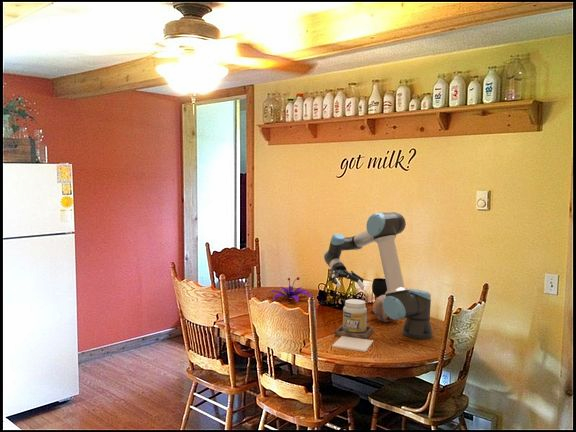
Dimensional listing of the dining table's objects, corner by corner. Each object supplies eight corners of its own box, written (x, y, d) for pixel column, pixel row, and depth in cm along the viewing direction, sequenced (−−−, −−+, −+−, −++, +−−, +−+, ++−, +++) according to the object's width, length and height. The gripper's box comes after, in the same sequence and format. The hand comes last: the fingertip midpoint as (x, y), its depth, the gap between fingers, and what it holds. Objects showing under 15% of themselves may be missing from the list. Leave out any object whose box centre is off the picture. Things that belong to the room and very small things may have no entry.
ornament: (397, 326, 282) (398, 299, 281) (370, 323, 287) (371, 296, 286) (401, 319, 296) (402, 293, 295) (374, 316, 301) (375, 291, 300)
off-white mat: (373, 342, 254) (373, 340, 254) (365, 351, 239) (365, 350, 239) (341, 337, 260) (341, 336, 260) (332, 347, 245) (332, 345, 245)
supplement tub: (340, 336, 262) (341, 303, 261) (344, 329, 274) (345, 297, 273) (364, 338, 259) (365, 305, 258) (367, 331, 271) (368, 299, 270)
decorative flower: (305, 307, 319) (306, 283, 318) (259, 301, 330) (260, 278, 329) (319, 297, 345) (320, 275, 344) (276, 292, 356) (276, 271, 355)
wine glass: (367, 312, 310) (368, 279, 309) (378, 309, 317) (379, 277, 316) (381, 315, 302) (382, 282, 301) (392, 313, 309) (393, 280, 308)
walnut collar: (373, 331, 271) (373, 326, 271) (365, 340, 256) (365, 335, 256) (343, 327, 277) (343, 323, 277) (334, 335, 262) (334, 331, 262)
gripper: (356, 275, 298) (370, 294, 279) (315, 272, 290) (328, 292, 272) (359, 263, 296) (374, 282, 277) (319, 260, 288) (331, 279, 269)
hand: (351, 287), depth 274 cm, fingers open, 13 cm apart
